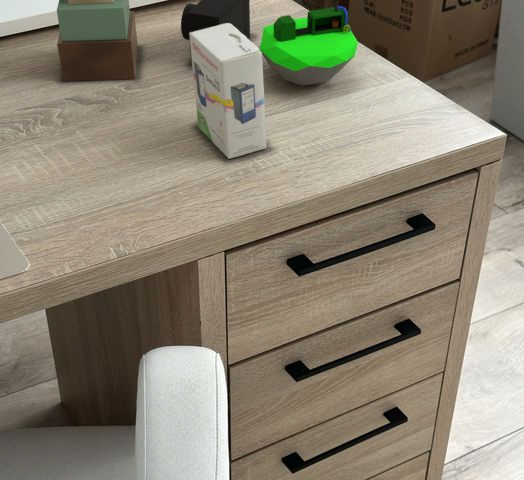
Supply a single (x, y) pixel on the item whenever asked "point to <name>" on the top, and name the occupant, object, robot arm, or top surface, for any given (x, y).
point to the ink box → (229, 89)
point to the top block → (93, 21)
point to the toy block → (89, 1)
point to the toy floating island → (309, 45)
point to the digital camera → (215, 16)
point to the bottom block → (100, 57)
